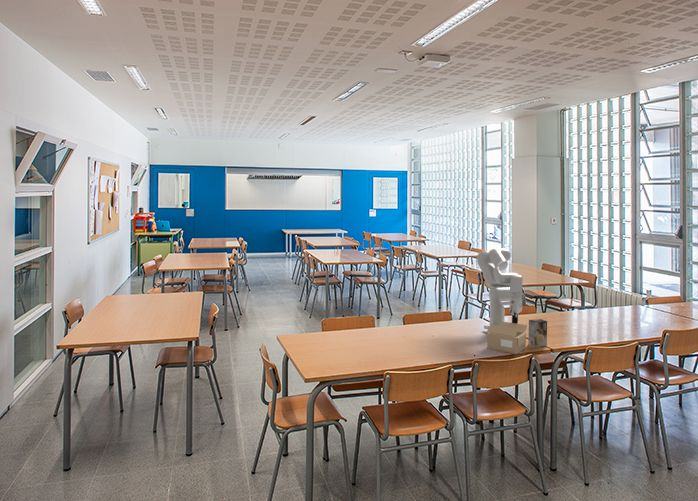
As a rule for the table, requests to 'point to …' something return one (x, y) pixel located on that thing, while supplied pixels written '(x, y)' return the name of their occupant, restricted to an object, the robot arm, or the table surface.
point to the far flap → (514, 326)
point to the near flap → (503, 330)
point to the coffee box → (537, 333)
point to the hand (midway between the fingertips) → (514, 323)
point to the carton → (506, 342)
